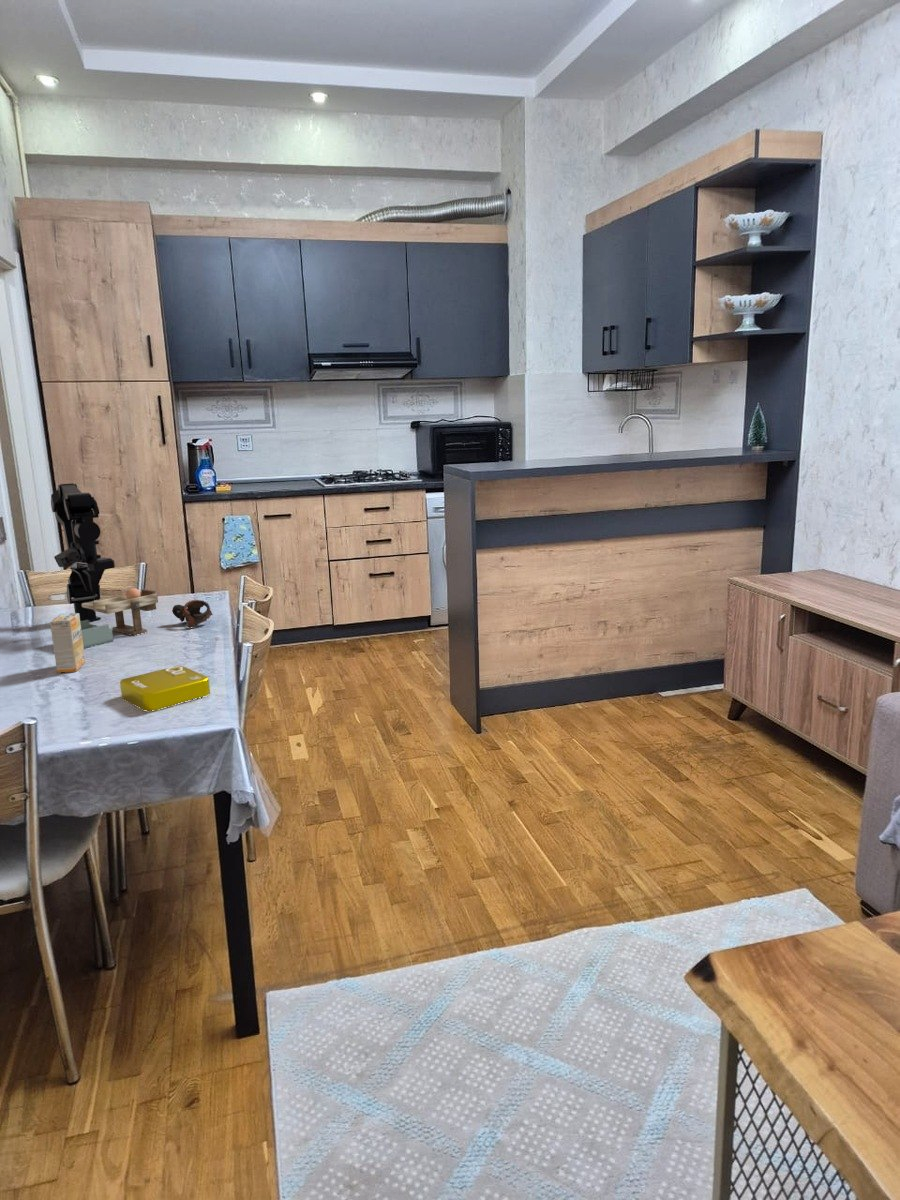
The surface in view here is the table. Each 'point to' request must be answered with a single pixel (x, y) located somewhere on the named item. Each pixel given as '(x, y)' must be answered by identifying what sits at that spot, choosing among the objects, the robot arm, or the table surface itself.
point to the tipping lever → (124, 603)
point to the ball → (132, 593)
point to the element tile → (164, 687)
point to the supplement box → (67, 642)
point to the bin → (95, 634)
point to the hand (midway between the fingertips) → (91, 591)
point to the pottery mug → (192, 612)
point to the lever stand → (136, 621)
